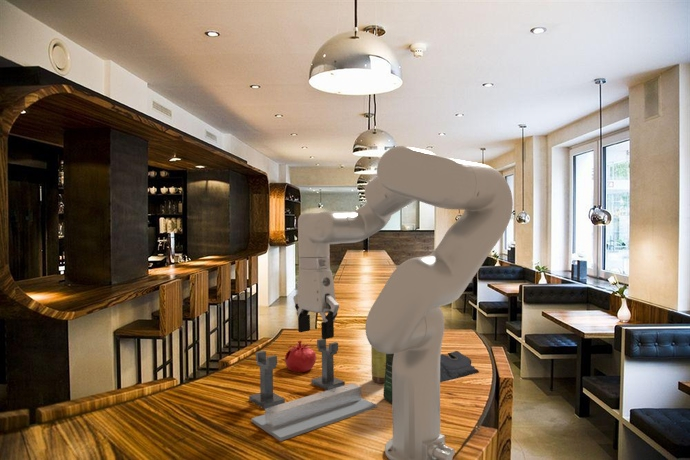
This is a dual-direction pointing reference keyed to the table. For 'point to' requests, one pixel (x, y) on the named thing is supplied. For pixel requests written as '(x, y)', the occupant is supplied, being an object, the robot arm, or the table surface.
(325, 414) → the mat
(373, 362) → the sauce bottle
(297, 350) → the pomegranate
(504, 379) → the table surface
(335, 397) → the hang bar
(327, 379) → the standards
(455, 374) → the dark grey notched piece
